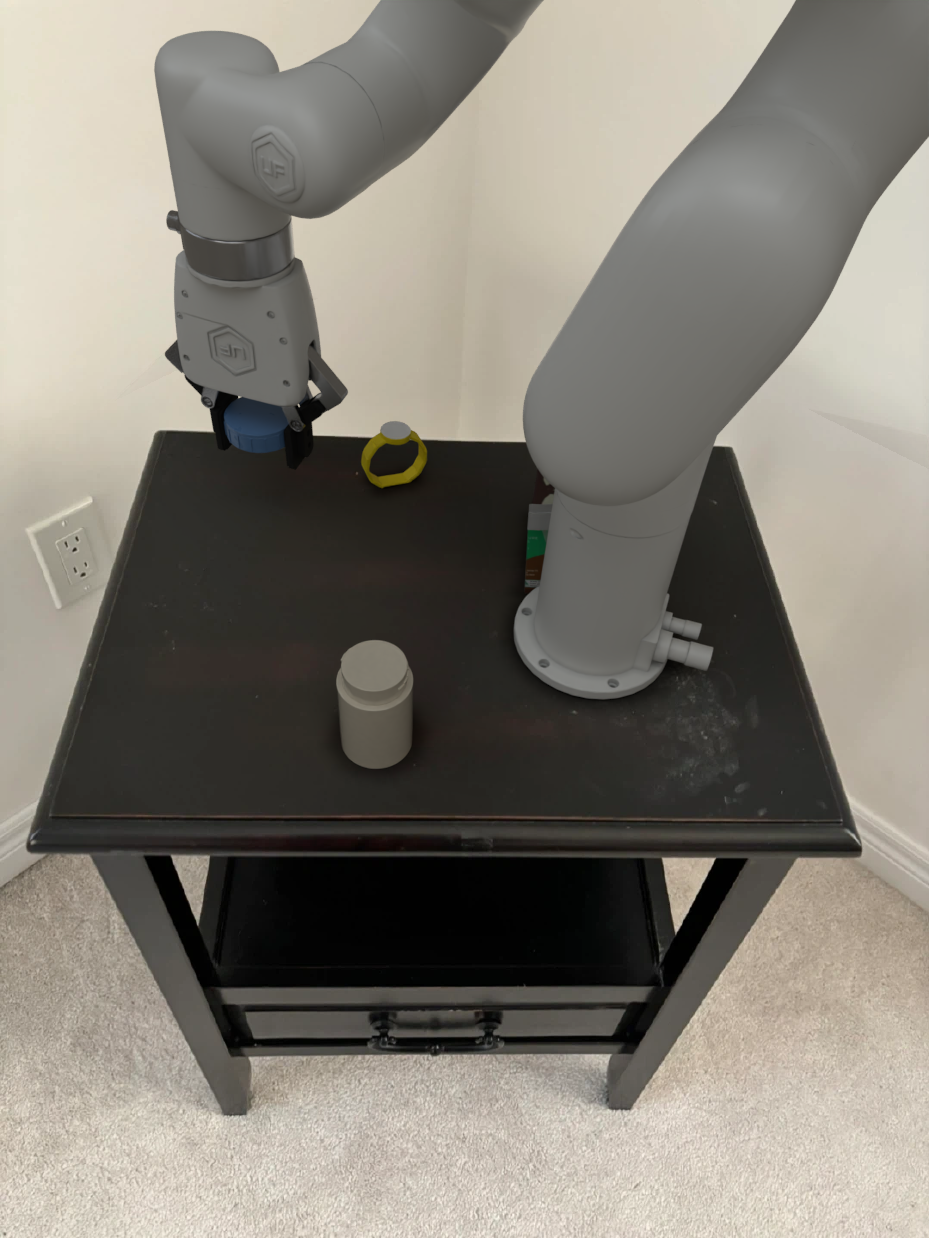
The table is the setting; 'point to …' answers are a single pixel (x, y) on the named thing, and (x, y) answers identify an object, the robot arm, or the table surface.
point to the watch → (395, 436)
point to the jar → (375, 704)
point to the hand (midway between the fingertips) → (264, 448)
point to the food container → (538, 531)
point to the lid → (255, 425)
